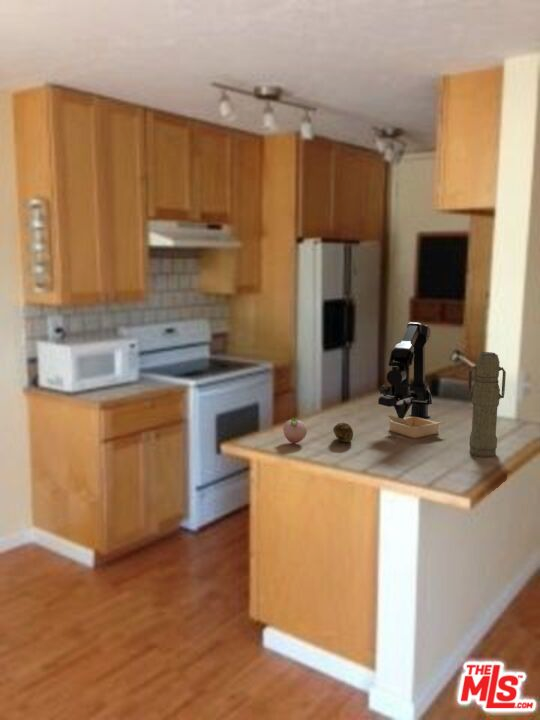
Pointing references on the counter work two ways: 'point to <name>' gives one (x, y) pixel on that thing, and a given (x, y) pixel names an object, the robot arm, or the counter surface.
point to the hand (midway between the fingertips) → (400, 420)
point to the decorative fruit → (294, 430)
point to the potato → (343, 432)
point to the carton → (414, 427)
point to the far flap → (399, 420)
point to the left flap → (431, 424)
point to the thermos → (485, 404)
